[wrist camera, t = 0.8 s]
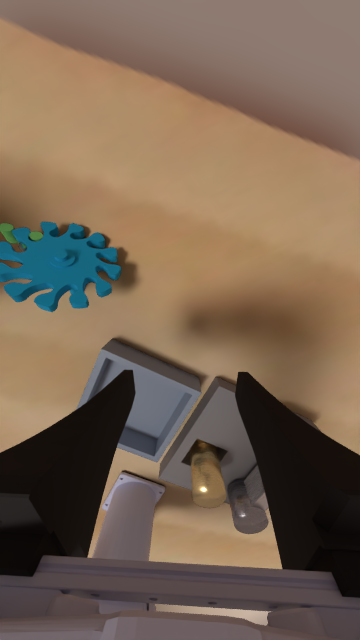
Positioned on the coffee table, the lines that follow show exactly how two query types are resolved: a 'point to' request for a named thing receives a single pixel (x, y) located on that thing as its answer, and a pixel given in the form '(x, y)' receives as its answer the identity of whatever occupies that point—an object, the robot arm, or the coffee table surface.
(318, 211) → the coffee table surface
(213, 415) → the crank plate
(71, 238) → the blue spiky round piece
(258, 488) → the lever
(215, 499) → the pin
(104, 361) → the tray
